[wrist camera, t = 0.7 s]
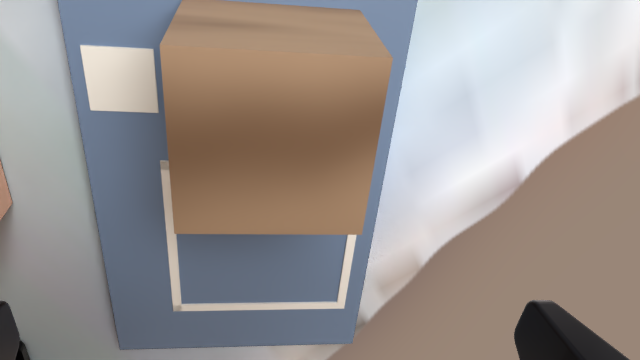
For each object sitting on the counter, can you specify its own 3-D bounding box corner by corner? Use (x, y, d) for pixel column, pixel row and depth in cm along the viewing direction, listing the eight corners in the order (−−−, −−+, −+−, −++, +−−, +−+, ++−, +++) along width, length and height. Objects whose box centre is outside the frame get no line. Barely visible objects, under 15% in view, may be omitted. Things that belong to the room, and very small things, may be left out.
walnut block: (340, 158, 21) (361, 234, 17) (191, 154, 20) (174, 234, 16) (360, 10, 18) (393, 58, 13) (183, -3, 17) (159, 44, 12)
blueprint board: (350, 334, 28) (352, 344, 27) (122, 340, 26) (119, 351, 25) (413, -5, 18) (418, -1, 17) (58, -32, 16) (51, -28, 16)
